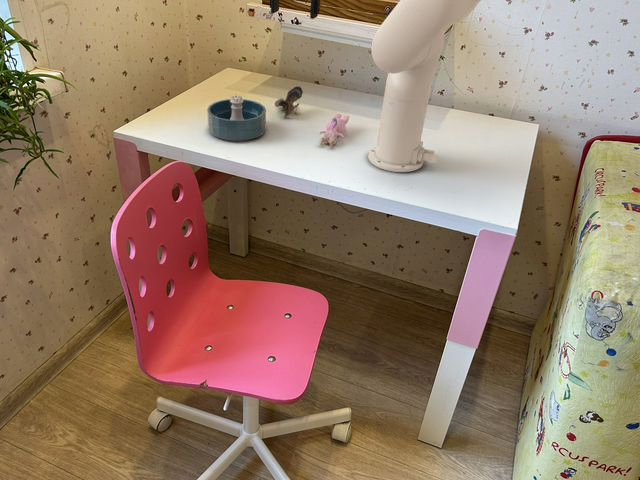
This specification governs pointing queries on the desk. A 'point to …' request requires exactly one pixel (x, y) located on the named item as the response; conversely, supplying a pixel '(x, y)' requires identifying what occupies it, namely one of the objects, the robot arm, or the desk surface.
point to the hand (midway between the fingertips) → (294, 14)
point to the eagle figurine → (290, 100)
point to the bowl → (236, 129)
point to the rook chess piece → (236, 108)
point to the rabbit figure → (334, 129)
